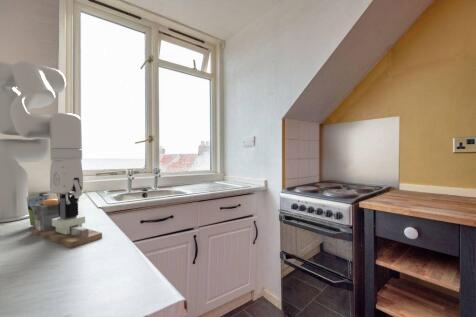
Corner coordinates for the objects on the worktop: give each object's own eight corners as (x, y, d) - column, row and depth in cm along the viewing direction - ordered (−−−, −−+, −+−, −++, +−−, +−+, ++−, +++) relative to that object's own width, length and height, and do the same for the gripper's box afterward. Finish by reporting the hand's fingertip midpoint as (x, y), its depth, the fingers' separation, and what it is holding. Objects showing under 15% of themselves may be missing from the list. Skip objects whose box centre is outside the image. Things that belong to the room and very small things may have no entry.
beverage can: (42, 228, 75) (41, 193, 74) (21, 228, 75) (20, 193, 75) (58, 222, 81) (57, 190, 81) (38, 222, 81) (37, 190, 81)
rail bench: (31, 233, 70) (30, 205, 70) (61, 225, 77) (60, 200, 77) (71, 248, 58) (70, 214, 58) (102, 237, 65) (101, 207, 65)
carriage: (52, 232, 65) (51, 198, 65) (74, 226, 71) (74, 195, 71) (62, 235, 63) (61, 200, 62) (85, 229, 68) (84, 196, 68)
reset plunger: (40, 208, 71) (40, 200, 71) (55, 205, 74) (55, 198, 74) (46, 209, 69) (46, 201, 69) (61, 206, 72) (61, 199, 72)
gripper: (38, 155, 67) (40, 215, 67) (66, 155, 59) (68, 223, 59) (67, 155, 73) (68, 210, 74) (95, 154, 66) (97, 216, 66)
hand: (68, 215), depth 67 cm, fingers closed on carriage, 3 cm apart
